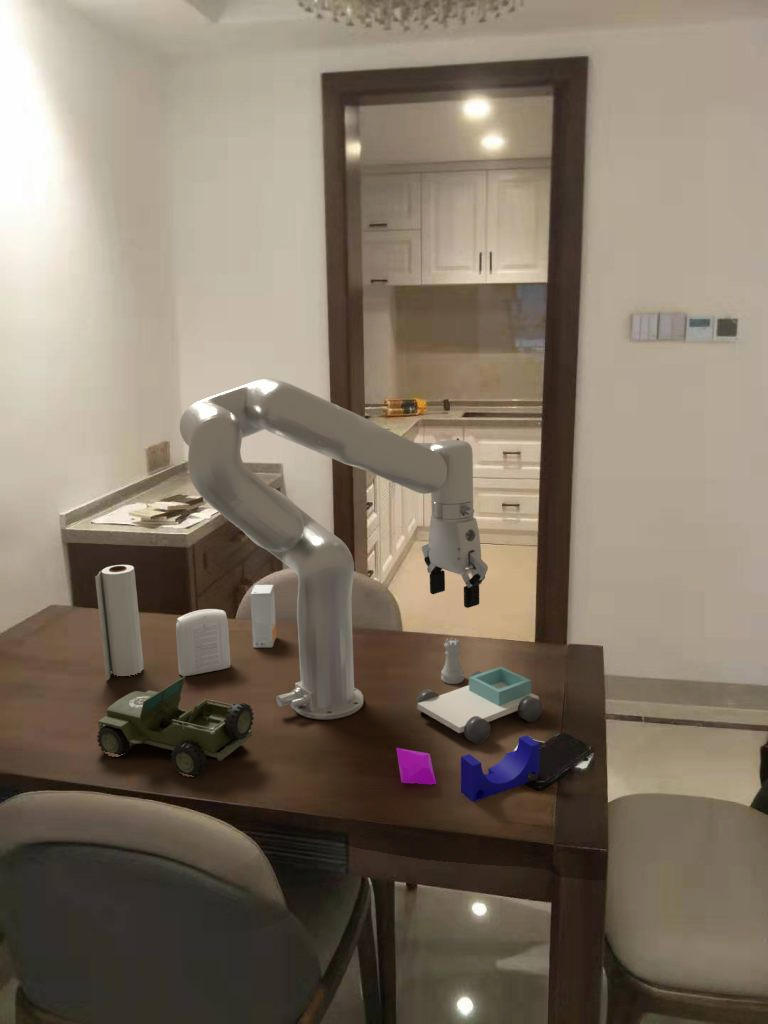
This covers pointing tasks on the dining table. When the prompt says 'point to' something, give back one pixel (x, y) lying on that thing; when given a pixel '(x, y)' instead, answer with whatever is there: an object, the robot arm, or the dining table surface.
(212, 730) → the toy jeep
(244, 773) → the dining table surface
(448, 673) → the rook chess piece
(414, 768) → the crystal
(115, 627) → the paper towel roll
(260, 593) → the skincare box
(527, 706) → the chassis
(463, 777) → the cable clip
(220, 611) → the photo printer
